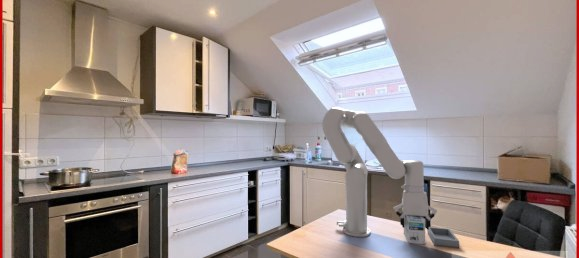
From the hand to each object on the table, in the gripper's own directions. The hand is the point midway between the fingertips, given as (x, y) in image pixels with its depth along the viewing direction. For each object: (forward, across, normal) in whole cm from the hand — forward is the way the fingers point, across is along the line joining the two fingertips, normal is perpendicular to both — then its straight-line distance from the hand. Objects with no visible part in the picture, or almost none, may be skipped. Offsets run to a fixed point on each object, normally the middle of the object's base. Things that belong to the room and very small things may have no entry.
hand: (414, 227), depth 116 cm
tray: (+5, +11, +2) cm, 12 cm away
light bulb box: (+5, 0, 0) cm, 5 cm away
